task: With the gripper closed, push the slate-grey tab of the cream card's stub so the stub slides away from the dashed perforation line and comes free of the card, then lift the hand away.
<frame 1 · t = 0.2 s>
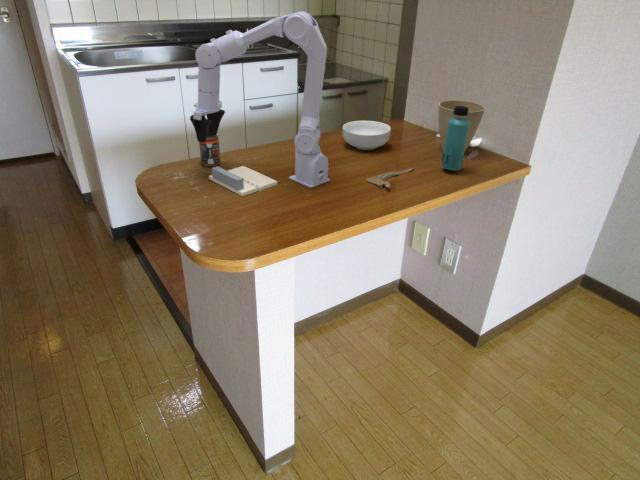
hand: (207, 137, 132), 11 cm above the table, tool pointing down, fingers open, 7 cm apart
stub: (232, 178, 128), point 2 cm above the table, slide at 0.0 cm
beverage bottle: (450, 171, 143), on the table
plant pot: (453, 152, 159), on the table
supplement bottle: (211, 164, 143), on the table
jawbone: (397, 182, 136), on the table
ticket: (250, 179, 133), on the table
cereal bowl: (365, 147, 161), on the table
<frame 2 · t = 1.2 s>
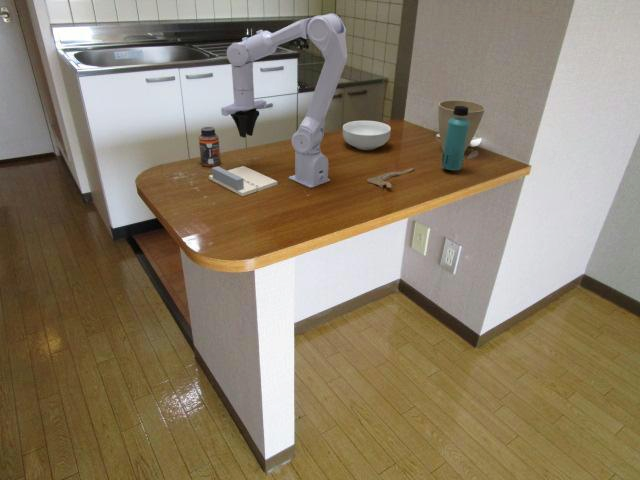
hand: (246, 135, 135), 10 cm above the table, tool pointing down, fingers closed
nothing on the table moved.
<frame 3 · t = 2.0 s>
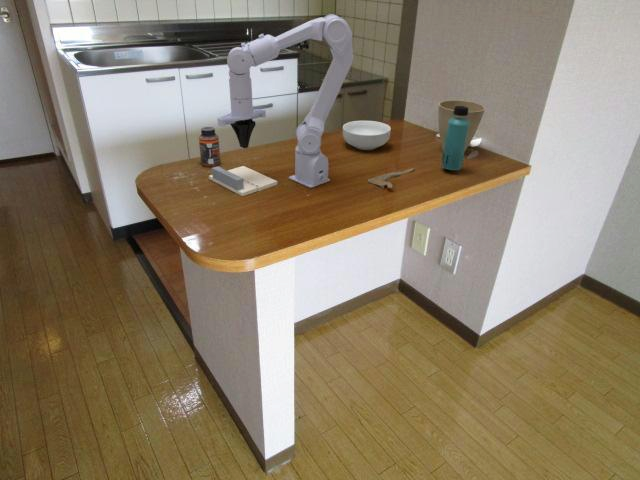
hand: (244, 147, 127), 10 cm above the table, tool pointing down, fingers closed
nothing on the table moved.
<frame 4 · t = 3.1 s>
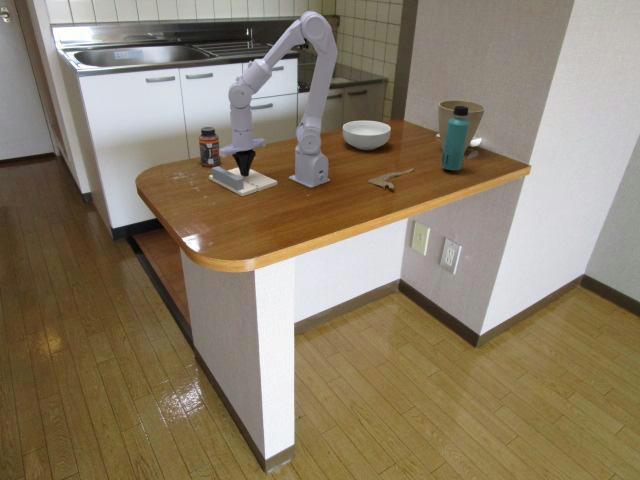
hand: (244, 175, 131), 2 cm above the table, tool pointing down, fingers closed
nothing on the table moved.
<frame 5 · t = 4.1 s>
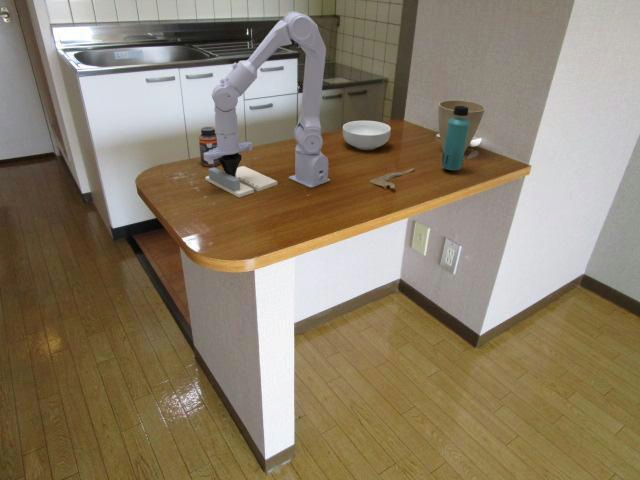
hand: (230, 179, 128), 2 cm above the table, tool pointing down, fingers closed
stub: (228, 179, 127), point 2 cm above the table, slide at 1.2 cm, touching gripper
everything else where it was.
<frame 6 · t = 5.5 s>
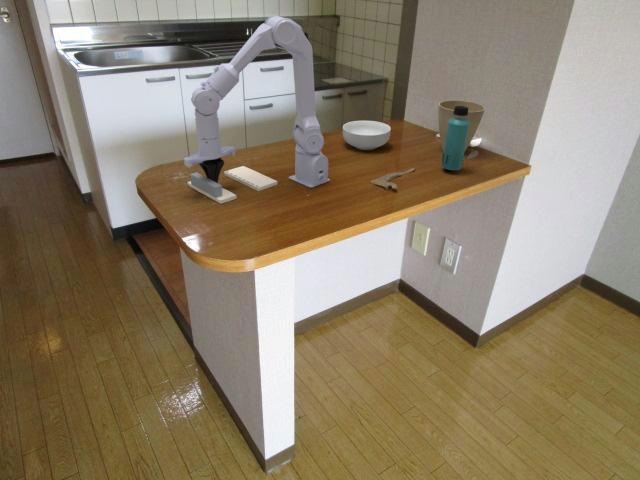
hand: (213, 185, 124), 2 cm above the table, tool pointing down, fingers closed
stub: (210, 185, 124), point 2 cm above the table, slide at 7.0 cm, touching gripper
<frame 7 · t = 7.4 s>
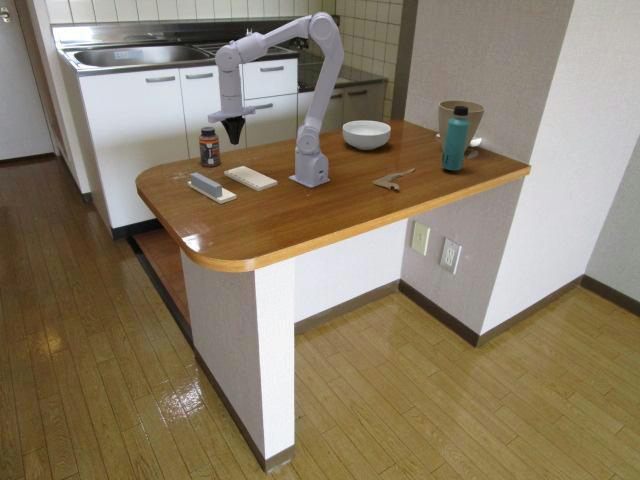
hand: (234, 143, 128), 10 cm above the table, tool pointing down, fingers closed
stub: (210, 185, 124), point 2 cm above the table, slide at 7.0 cm
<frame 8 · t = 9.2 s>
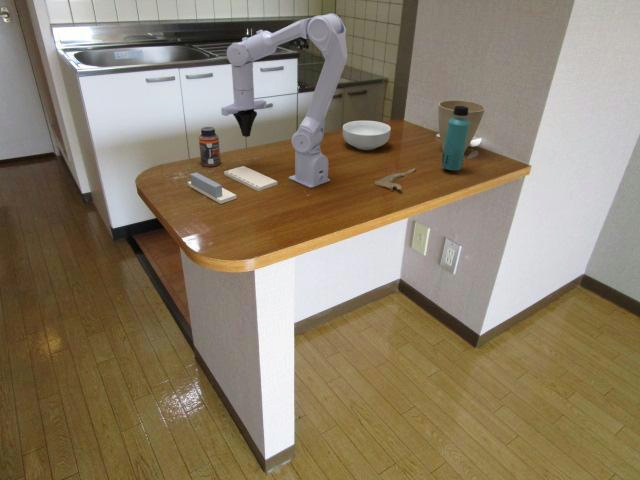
hand: (246, 135, 135), 10 cm above the table, tool pointing down, fingers closed
at the end: stub slide at 7.0 cm; supplement bottle moved 0.2 cm from its start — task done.
